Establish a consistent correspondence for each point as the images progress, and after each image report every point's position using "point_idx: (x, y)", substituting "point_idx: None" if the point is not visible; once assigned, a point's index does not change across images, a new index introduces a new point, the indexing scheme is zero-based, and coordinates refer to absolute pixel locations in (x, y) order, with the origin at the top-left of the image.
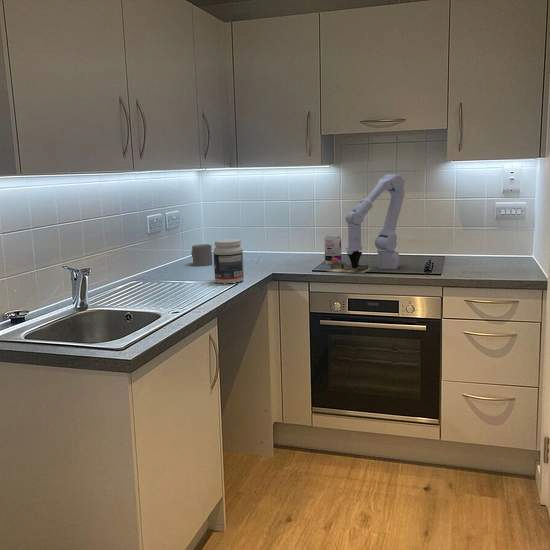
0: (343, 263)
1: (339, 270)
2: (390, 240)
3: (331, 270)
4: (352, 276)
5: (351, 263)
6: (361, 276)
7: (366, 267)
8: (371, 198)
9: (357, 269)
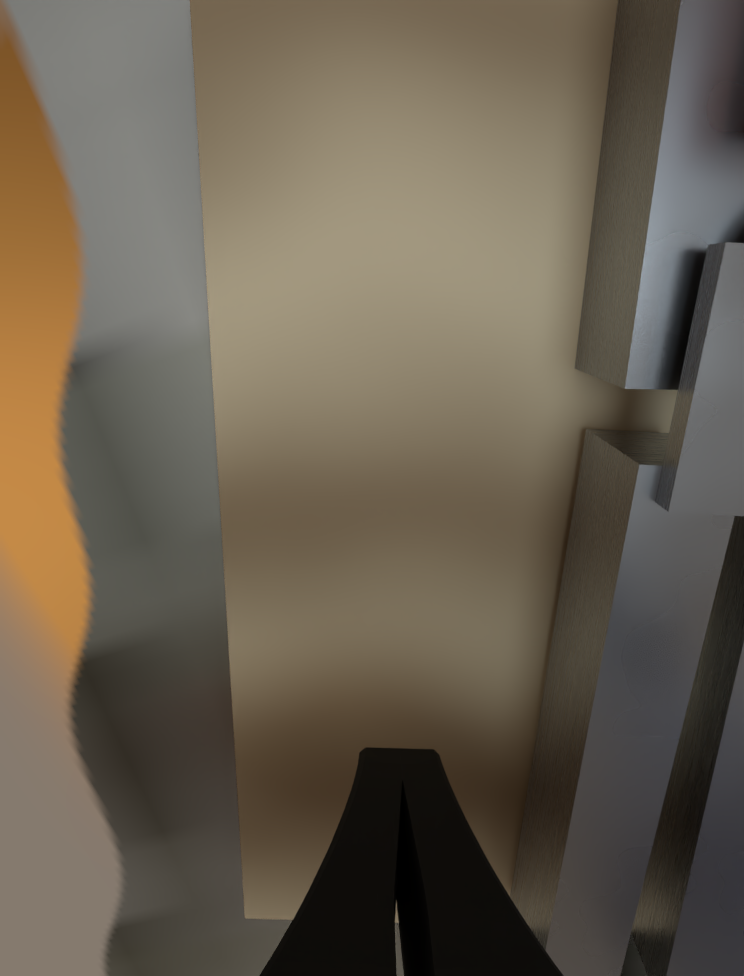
0: (672, 454)
1: (391, 368)
2: None
3: (331, 125)
4: (114, 730)
5: (332, 841)
6: (176, 860)
7: (636, 932)
8: None
9: (533, 762)
